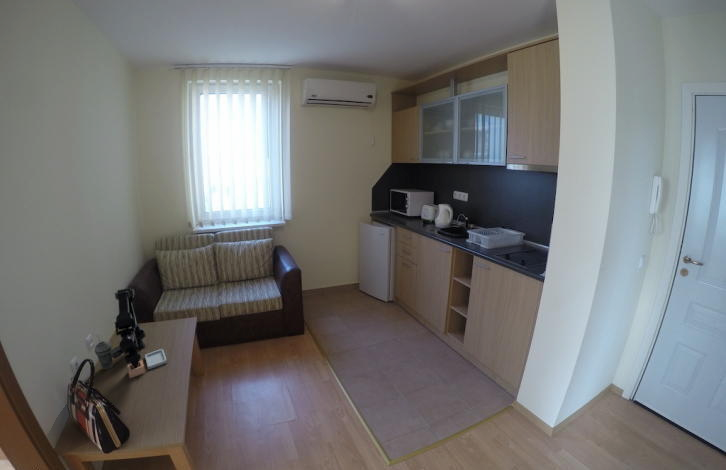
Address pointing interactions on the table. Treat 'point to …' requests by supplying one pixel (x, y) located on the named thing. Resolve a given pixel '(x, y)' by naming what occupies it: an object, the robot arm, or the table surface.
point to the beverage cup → (104, 354)
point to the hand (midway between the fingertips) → (135, 364)
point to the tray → (155, 359)
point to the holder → (136, 369)
